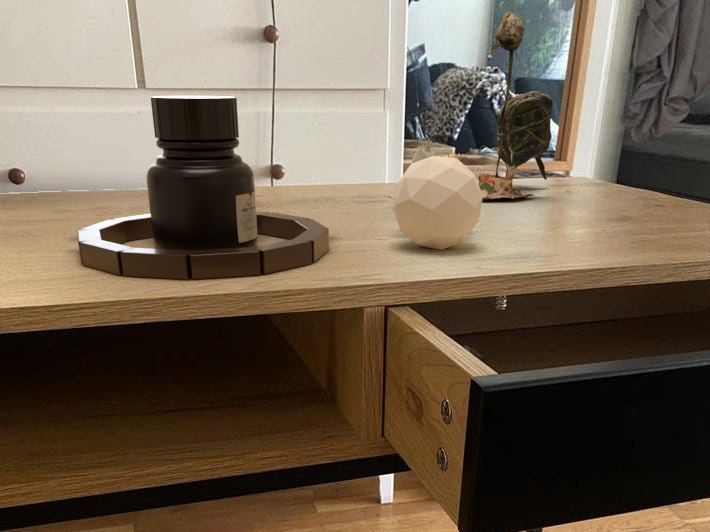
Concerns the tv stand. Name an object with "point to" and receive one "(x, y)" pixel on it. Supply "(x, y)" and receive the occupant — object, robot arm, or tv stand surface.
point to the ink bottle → (200, 176)
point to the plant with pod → (517, 122)
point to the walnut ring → (108, 255)
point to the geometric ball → (437, 202)
